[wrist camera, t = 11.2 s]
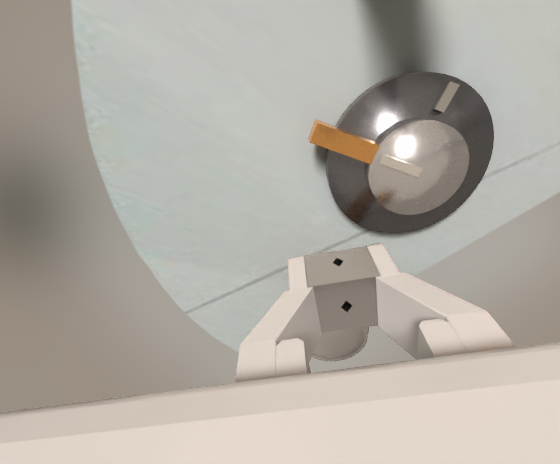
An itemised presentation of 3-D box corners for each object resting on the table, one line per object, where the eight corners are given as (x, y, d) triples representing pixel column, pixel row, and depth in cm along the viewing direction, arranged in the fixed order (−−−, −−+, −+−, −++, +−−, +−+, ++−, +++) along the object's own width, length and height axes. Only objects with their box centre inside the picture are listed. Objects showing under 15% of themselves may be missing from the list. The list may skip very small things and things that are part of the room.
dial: (474, 135, 35) (492, 142, 32) (423, 214, 40) (434, 226, 37) (330, 78, 32) (335, 80, 29) (295, 171, 37) (296, 180, 35)
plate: (519, 107, 36) (533, 109, 34) (427, 241, 45) (433, 250, 43) (368, 43, 33) (374, 42, 31) (303, 202, 42) (304, 209, 40)
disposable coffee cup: (353, 298, 51) (371, 359, 41) (297, 305, 52) (301, 366, 41) (350, 252, 46) (370, 308, 36) (289, 260, 47) (292, 317, 37)
